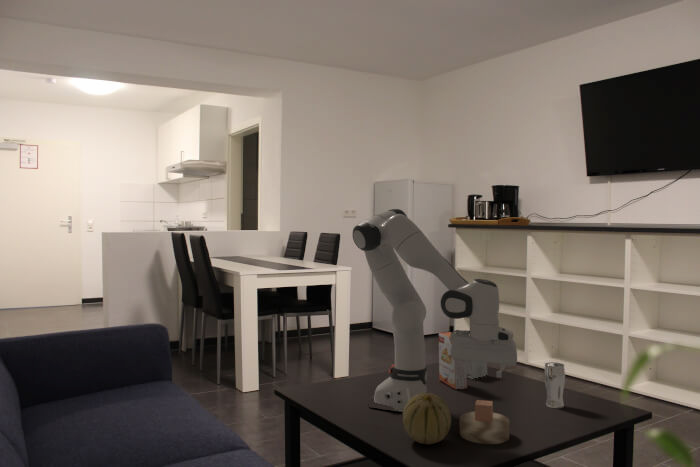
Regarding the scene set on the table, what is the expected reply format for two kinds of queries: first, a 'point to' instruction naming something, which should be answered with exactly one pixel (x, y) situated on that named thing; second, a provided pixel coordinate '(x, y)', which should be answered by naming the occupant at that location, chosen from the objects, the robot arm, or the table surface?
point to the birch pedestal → (484, 429)
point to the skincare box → (477, 369)
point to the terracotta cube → (483, 411)
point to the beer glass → (554, 384)
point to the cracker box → (450, 364)
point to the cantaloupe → (427, 418)
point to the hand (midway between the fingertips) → (483, 376)
